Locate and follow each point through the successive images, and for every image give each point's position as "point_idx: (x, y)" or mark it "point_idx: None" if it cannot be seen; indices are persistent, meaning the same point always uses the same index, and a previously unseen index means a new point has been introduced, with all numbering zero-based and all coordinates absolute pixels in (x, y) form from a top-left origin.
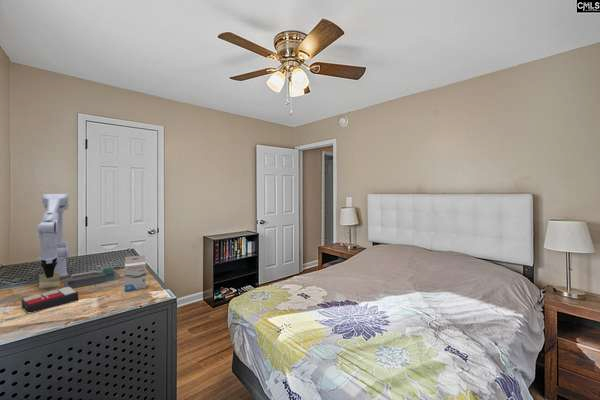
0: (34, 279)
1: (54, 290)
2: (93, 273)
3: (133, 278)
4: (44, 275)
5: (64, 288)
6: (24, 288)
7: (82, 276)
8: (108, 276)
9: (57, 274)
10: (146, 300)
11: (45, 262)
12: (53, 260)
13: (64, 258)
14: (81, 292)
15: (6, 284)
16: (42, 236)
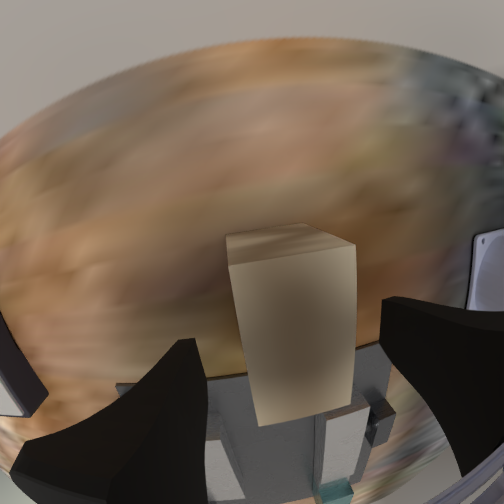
0: (492, 174)
1: None
2: (320, 473)
3: None
4: (289, 310)
5: (2, 397)
6: (346, 124)
7: (319, 442)
8: (277, 490)
9: (256, 412)
10: (5, 467)
11: (499, 370)
12: (471, 450)
13: None
14: (63, 423)
15: (464, 65)
16: None
